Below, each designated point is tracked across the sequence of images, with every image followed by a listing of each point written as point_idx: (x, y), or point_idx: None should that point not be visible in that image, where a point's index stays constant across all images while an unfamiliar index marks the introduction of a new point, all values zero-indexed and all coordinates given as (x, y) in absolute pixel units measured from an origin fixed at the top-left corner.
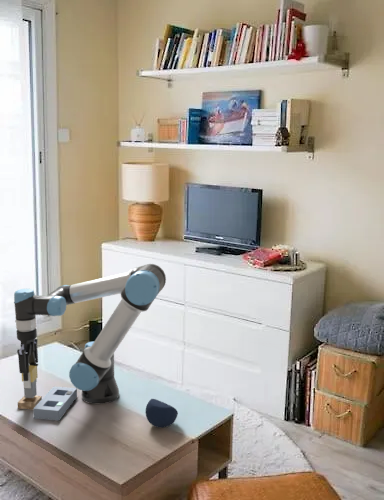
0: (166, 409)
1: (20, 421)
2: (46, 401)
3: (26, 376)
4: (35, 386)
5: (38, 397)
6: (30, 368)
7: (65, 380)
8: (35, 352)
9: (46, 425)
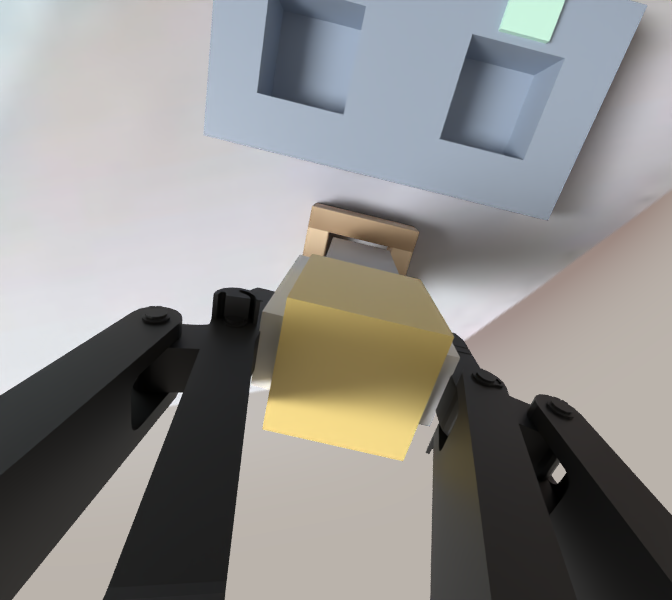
0: None
1: (535, 276)
2: (453, 145)
3: (475, 364)
4: (342, 253)
5: (331, 222)
6: (382, 368)
7: (9, 99)
8: (40, 462)
9: (631, 116)
